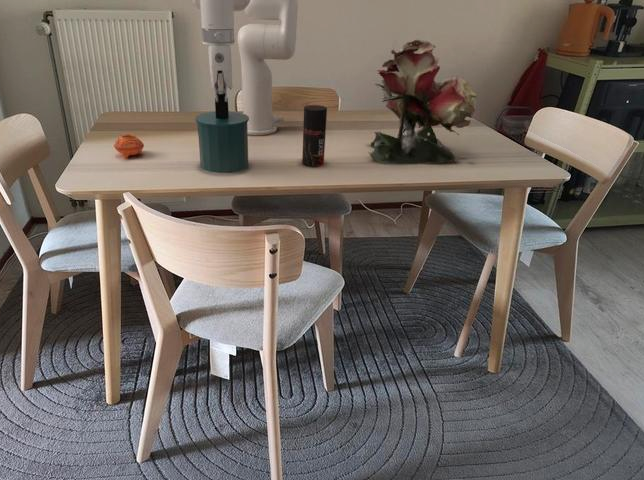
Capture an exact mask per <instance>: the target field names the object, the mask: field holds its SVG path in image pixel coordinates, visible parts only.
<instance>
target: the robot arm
mask: <svg viewBox="0 0 644 480" xmlns="http://www.w3.org/2000/svg"><path fill="white" fill-rule="evenodd" d="M191 1H192V4H193V5H194V6H195V7H196V8H197V9H199V10H200V19H201V35H202V44H203V45H205V46H207V49H208V50H207V51H208V52H207V53H208V63H209V65H208V66H209V75H210V81H211V88H212V89H213V90H214V91H215V92H214V93H215V97H214V110H215V111H214V112H216V119H228V118H229V113H228V111H229V98H228V92H227V91H228V89H229V90H230V91H231V90H232V89H233V71H232V70H233V63H232V49H231V46H234V45H236V43H235V42H236V41H235V39H236V38H235V14H234V13H235V12H242V11H244V13H245V15H246V16H247V17H248V18H250V19H252V20H253V19H254V20H263V21H279V22H280V24H268V23H248V24H245V25H242V26H241V27H240V28H239V30H238V33H237V46H238V52H239V56H240V57H239V58H240V67H241V69H240V70H241V97H242V98H241V100H242V113H243V114H245V115H247V116H248V117H249V121H248V122H247V129H248V136H266V135H270V134H274V133H275V132H277V128H278V127H277V125H275V124H277V123H280V122H284V115H277V116H276V115H274V114H273V74H272V73H273V72H272V70H271V69H270V66H269V65H268V64H267V62H266V60H277V61H279V60H282V61H285V60H286V61H287V60H290V59H292V58H293V57H294V54H295V52H296V42H297V27H298V11H299V10H298V9H299V0H191Z"/></svg>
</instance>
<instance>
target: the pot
mask: <svg viewBox="0 0 644 480" xmlns="http://www.w3.org/2000/svg"><path fill="white" fill-rule="evenodd" d="M113 147H114V149H115V150H116V151H117V152H118V153H120V154H121V155H122V156H123V159H125V160H128V159H129V156H130V157H131V156H135V155H142V154H143V153H142V152H143V149H144V147H145V145H144V142H142V140H141V139H139V138H138V137H136V135H135V134H131V133H127V134H124V135H120V137H119V138H118V139H116V140H115V142H114V144H113Z"/></svg>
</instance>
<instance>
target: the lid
mask: <svg viewBox="0 0 644 480" xmlns="http://www.w3.org/2000/svg"><path fill="white" fill-rule="evenodd" d="M228 113H229V118H228V119H216V112H215V111H208V112H203V113H200V114H197V115H196V116H195V122H196V124H198V123H199V124H202V125H207V126H216V127H226V126H236V125H241V124H244V123H246V122H248V121H249V117H248V116H247V115H245V114H243V112H238V111H229V110H228Z"/></svg>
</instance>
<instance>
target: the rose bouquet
mask: <svg viewBox="0 0 644 480" xmlns="http://www.w3.org/2000/svg"><path fill="white" fill-rule="evenodd" d="M435 48H436V45H435V44H432V43H431V41H430V40H427V39H425V40H423V39H421V40H420V39H417V38H416V39H414V40H412V41H408V42H406V43H405V44H403V45H401V47H400V50H399V51H398V52H396V51H395V49H392V50H390V53H391V54H392V55H393V59H389V60H387V61H384V62H383V64H382V65H381V66H382V68H386V70H385V69H377V70H376V72H377V73H378V75H379V76H380V77H381V78H382V79H381V80H380V82H381V83H382V84H380V83H375V84H374V85H375V86H376V87H377V89H379V90H382V93H383V98H382V99H381V103H384V102H385V103H386V105H385V107H386V108H387V109H388V110H390V111H391V112H392V113H393V114H394V115H395V116H396V117H397V118H398V119H399V127H398V134H397V136H396V137H395V136H392V135H390V134H386V133H384V132H381V131H377V132H376V131H375V132H374V134H375V137H374V140H373V141H370V147H374V150H373V151H371V152H370V151H367V152H368V154H369V156H370V158H371V159H372V160H371V161H372V162H374V163H380V164H390V165H391V164H395V165H404V164H405V165H406V164H407V165H409V164H410V165H411V164H416V165H418V164H420V163H428V164H429V163H431V164H446V163H447V162H454V163H458V161H457V160H456V156H455V155H454V154H453V152H451V151H450V149H448V148H447V146H445V145H444V143H443V142H442V141H441V140H440V139H439V138H438V137H437V135H436V133H435V132H434V129H433V127H437V126H440V125H441V126H442V127H443V128H444V129H446V130H447V131H448V132H449V133H454V134H456V135H457V136H460V134H459V133H458V132H456V131H455V130H453V129H452V127H456V129H463V128H464V127H469V126H470V125H471V120H470V119H472V118H473V114H474V112H475V111H476V109H477V101H476V98H477V97H478V95H477V93H476V92H475V91H473V90H472V88H471V83H470V82H468V81H467V80H465V79H464V78H463V77H461V76H457V75H453V76H449V77H446V78H443V80H441V81H440V82H436V81H435V78H436V76H437V74H438V73H439V71H440V69H441V67H440V66H439V65H438V63H439V62H440V57H438V56H434V55H433V54H434V53H433V51H434V49H435ZM379 114H380V113H378V115H379ZM467 118H469V120H467ZM416 126H418V130H417V131H415V128H416ZM404 133H405V134H404ZM458 159H461V157H458Z"/></svg>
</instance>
